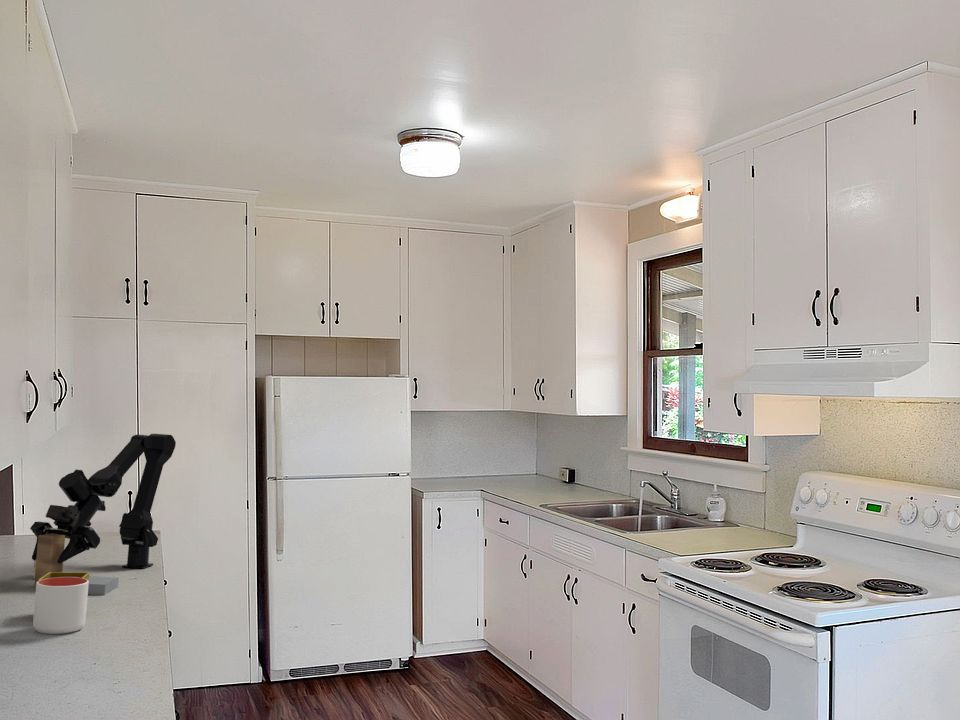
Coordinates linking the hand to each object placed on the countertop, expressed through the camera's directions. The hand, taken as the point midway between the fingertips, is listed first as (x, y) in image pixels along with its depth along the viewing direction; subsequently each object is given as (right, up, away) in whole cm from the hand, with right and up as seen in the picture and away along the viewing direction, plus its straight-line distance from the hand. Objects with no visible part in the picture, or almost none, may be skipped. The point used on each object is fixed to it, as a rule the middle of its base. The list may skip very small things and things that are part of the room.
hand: (45, 561), depth 220 cm
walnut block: (0, -7, +1) cm, 7 cm away
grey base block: (+12, -8, -1) cm, 15 cm away
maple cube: (-6, -7, +12) cm, 16 cm away
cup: (+22, -6, -38) cm, 44 cm away
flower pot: (+17, -6, -27) cm, 33 cm away
